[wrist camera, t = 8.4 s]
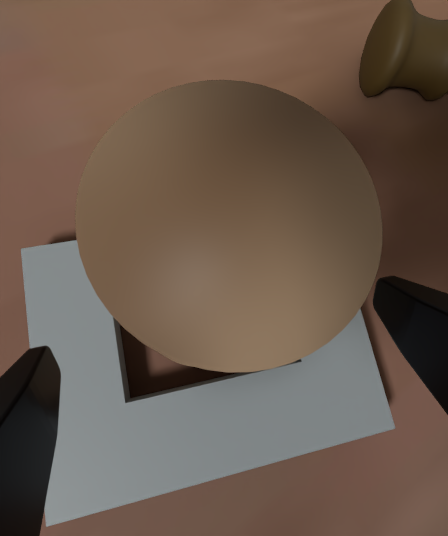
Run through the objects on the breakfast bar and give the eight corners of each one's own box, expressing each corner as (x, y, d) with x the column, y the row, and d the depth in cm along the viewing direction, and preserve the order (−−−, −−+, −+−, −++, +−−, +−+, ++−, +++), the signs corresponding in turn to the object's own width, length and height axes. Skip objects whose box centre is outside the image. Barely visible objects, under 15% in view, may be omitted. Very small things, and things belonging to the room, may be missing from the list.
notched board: (377, 421, 18) (395, 428, 16) (59, 509, 15) (46, 526, 14) (318, 210, 20) (329, 200, 19) (34, 256, 18) (21, 248, 16)
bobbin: (276, 278, 19) (455, 150, 6) (227, 387, 17) (339, 493, 5) (175, 227, 19) (159, -1, 6) (116, 330, 17) (-57, 293, 5)
